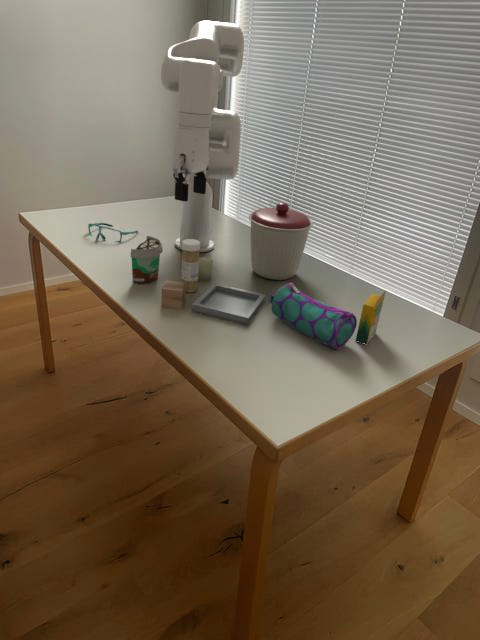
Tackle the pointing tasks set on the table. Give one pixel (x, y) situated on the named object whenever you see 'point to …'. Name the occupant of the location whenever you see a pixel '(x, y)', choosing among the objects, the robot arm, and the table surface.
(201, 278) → the olive cylinder
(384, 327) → the table surface
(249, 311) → the slate tray
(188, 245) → the sprinkles bottle
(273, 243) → the canister
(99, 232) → the teal glasses
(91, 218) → the table surface
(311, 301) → the pencil case
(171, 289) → the brown wooden cube
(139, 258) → the food container
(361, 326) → the crayon box
